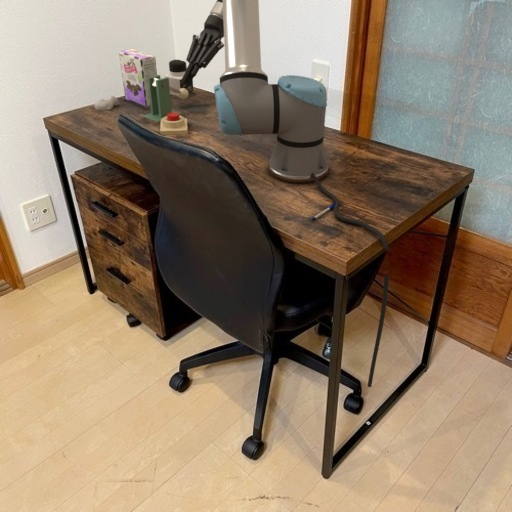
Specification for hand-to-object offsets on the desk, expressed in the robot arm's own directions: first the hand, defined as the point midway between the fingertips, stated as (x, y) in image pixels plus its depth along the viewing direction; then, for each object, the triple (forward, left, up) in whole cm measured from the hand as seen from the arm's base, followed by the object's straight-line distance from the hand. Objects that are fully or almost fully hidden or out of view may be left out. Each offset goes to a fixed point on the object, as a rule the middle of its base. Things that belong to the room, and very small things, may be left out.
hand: (184, 83), depth 172 cm
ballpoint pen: (-73, -30, -9) cm, 80 cm away
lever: (-4, +5, -2) cm, 7 cm away
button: (-19, +4, -5) cm, 21 cm away
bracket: (-7, +8, -9) cm, 14 cm away
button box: (-19, +4, -9) cm, 22 cm away
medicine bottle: (+17, +2, -9) cm, 19 cm away
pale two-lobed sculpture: (+3, +26, -9) cm, 28 cm away
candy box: (+10, +15, -9) cm, 20 cm away
